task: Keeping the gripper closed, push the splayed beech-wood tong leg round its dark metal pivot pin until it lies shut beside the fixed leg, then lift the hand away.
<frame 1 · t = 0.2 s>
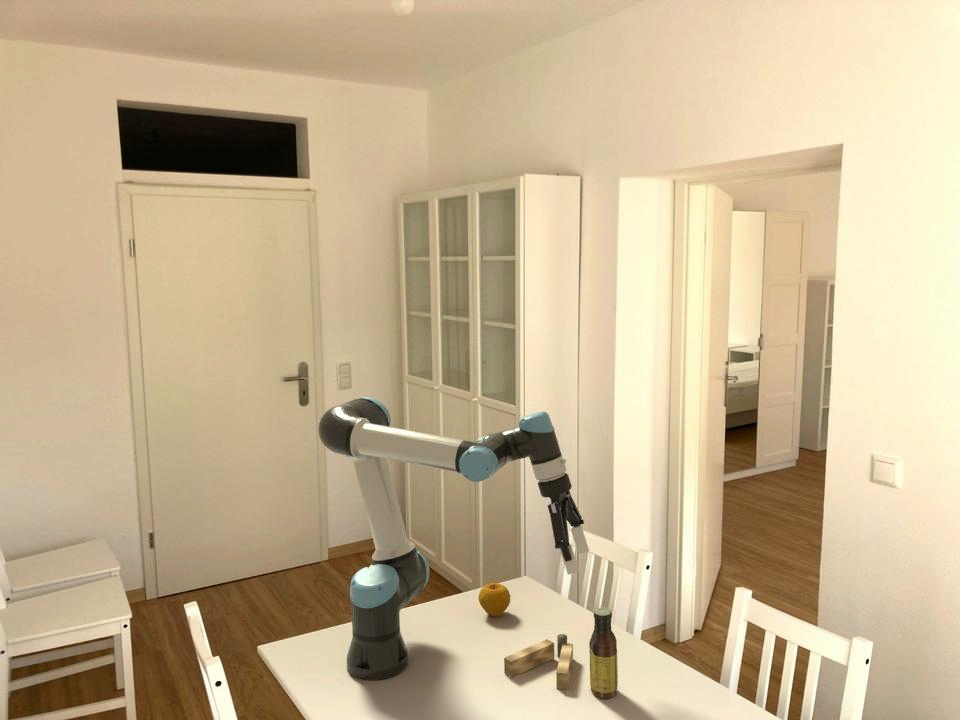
hand: (579, 562, 184), 27 cm above the table, tool tilted 15°, fingers open, 13 cm apart
sauce bottle: (603, 693, 177), on the table
apple: (494, 615, 217), on the table
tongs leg: (529, 657, 189), point 2 cm above the table, hinge at 40.0°
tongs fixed: (562, 655, 194), on the table
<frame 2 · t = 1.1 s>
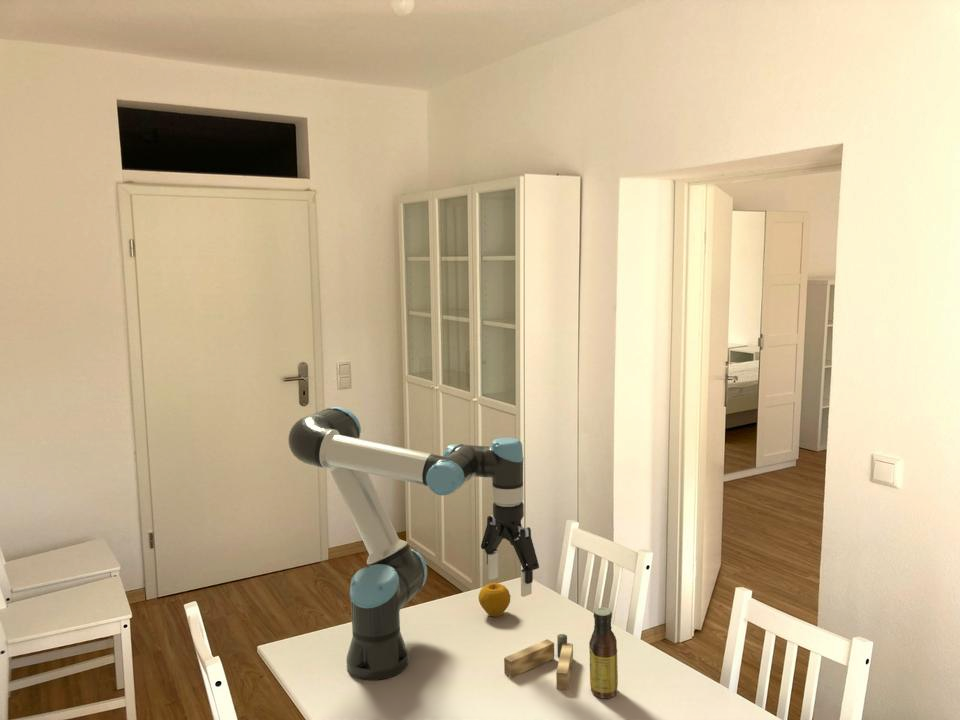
hand: (509, 586, 192), 18 cm above the table, tool pointing down, fingers open, 12 cm apart
nothing on the table moved.
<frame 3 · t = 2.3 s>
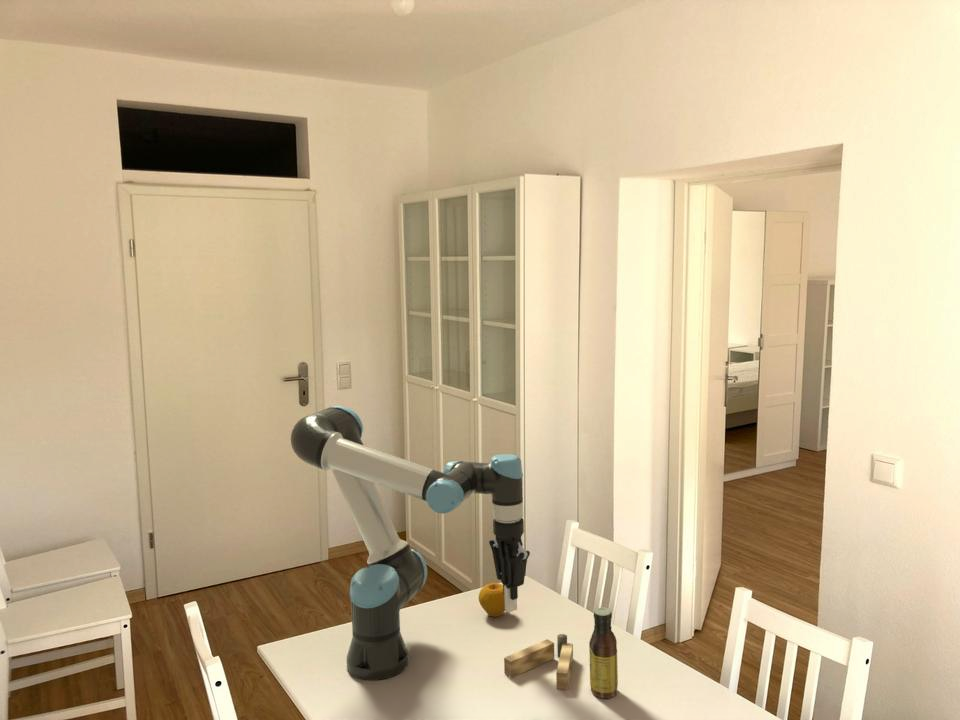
hand: (511, 609, 193), 12 cm above the table, tool pointing down, fingers closed
nothing on the table moved.
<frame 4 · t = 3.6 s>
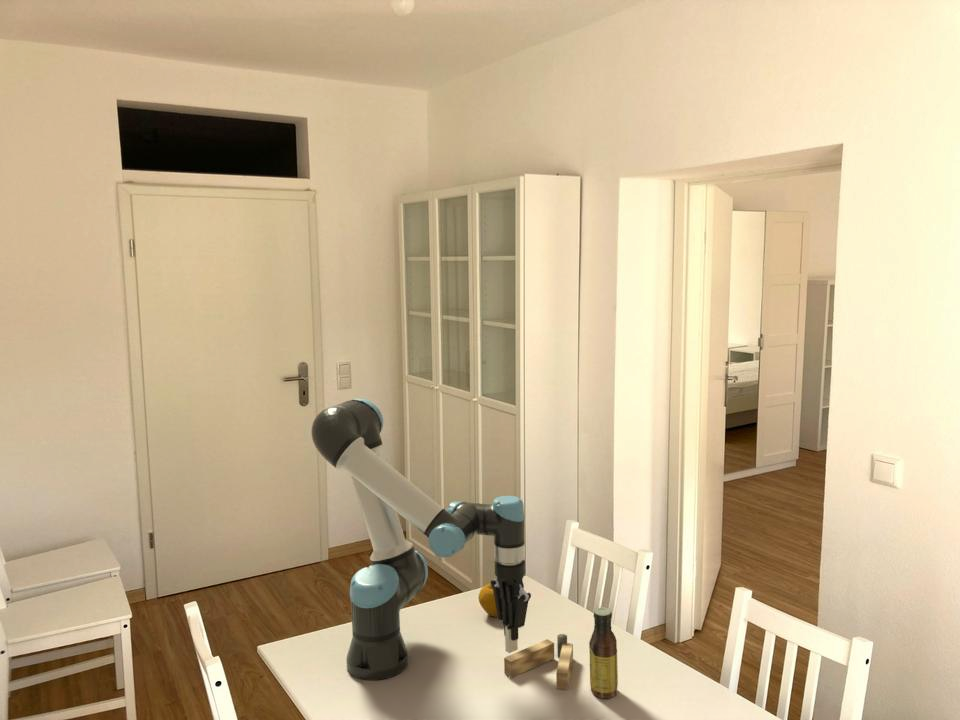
hand: (511, 650, 194), 2 cm above the table, tool pointing down, fingers closed
nothing on the table moved.
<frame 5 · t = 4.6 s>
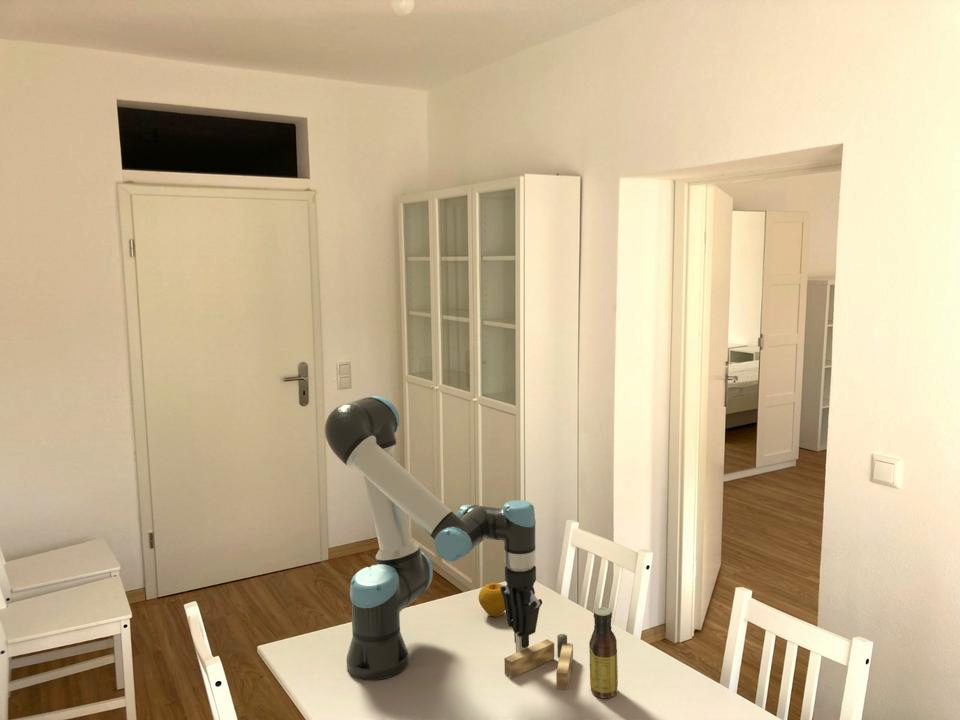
hand: (522, 657, 190), 2 cm above the table, tool pointing down, fingers closed
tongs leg: (529, 658, 189), point 2 cm above the table, hinge at 39.5°, touching gripper
everything else where it was.
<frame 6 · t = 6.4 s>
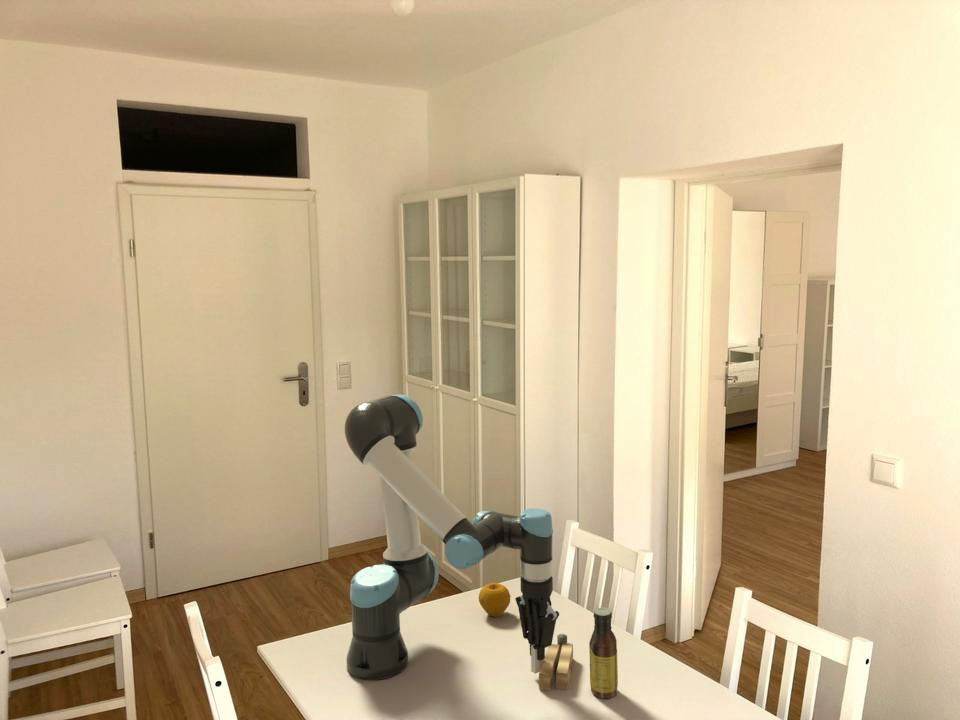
hand: (537, 670, 184), 2 cm above the table, tool pointing down, fingers closed
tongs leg: (549, 666, 185), point 2 cm above the table, hinge at 3.0°, touching gripper
everything else where it was.
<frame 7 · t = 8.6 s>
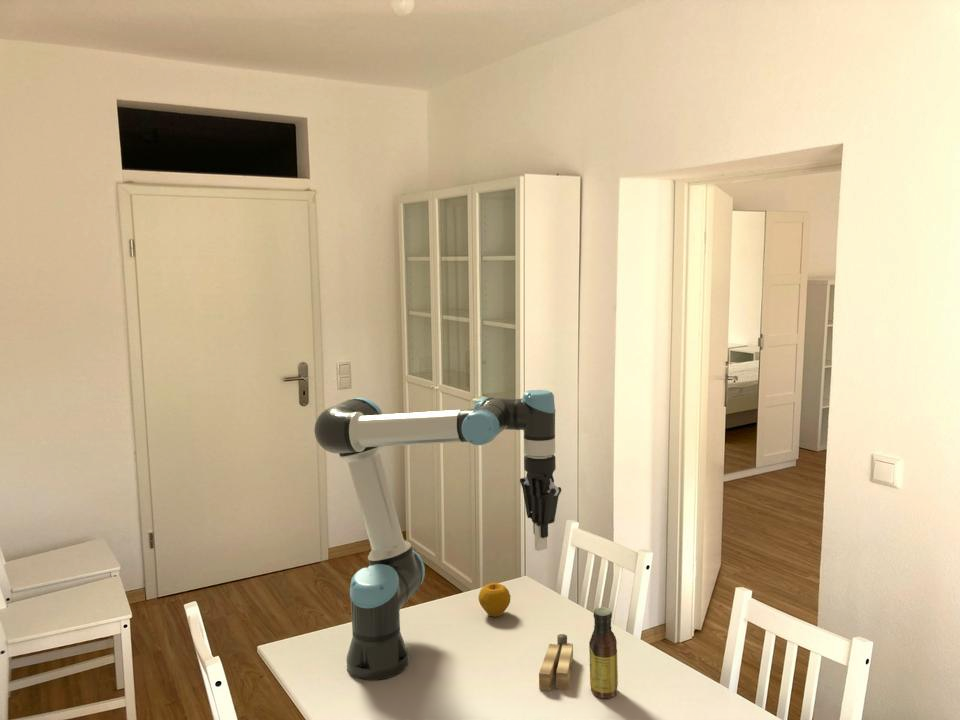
hand: (540, 548, 190), 28 cm above the table, tool pointing down, fingers closed
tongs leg: (549, 666, 185), point 2 cm above the table, hinge at 2.9°
everything else where it was.
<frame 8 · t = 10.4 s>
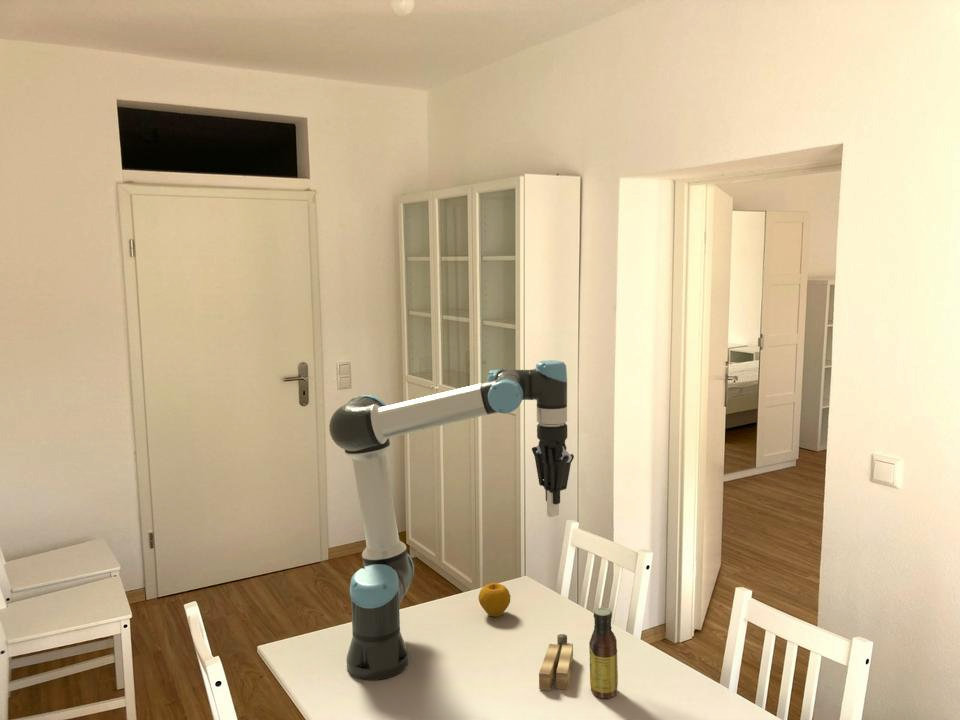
hand: (553, 515, 195), 34 cm above the table, tool pointing down, fingers closed
nothing on the table moved.
at the end: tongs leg at +3° (first picture: +40°); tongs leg touching nothing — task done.
